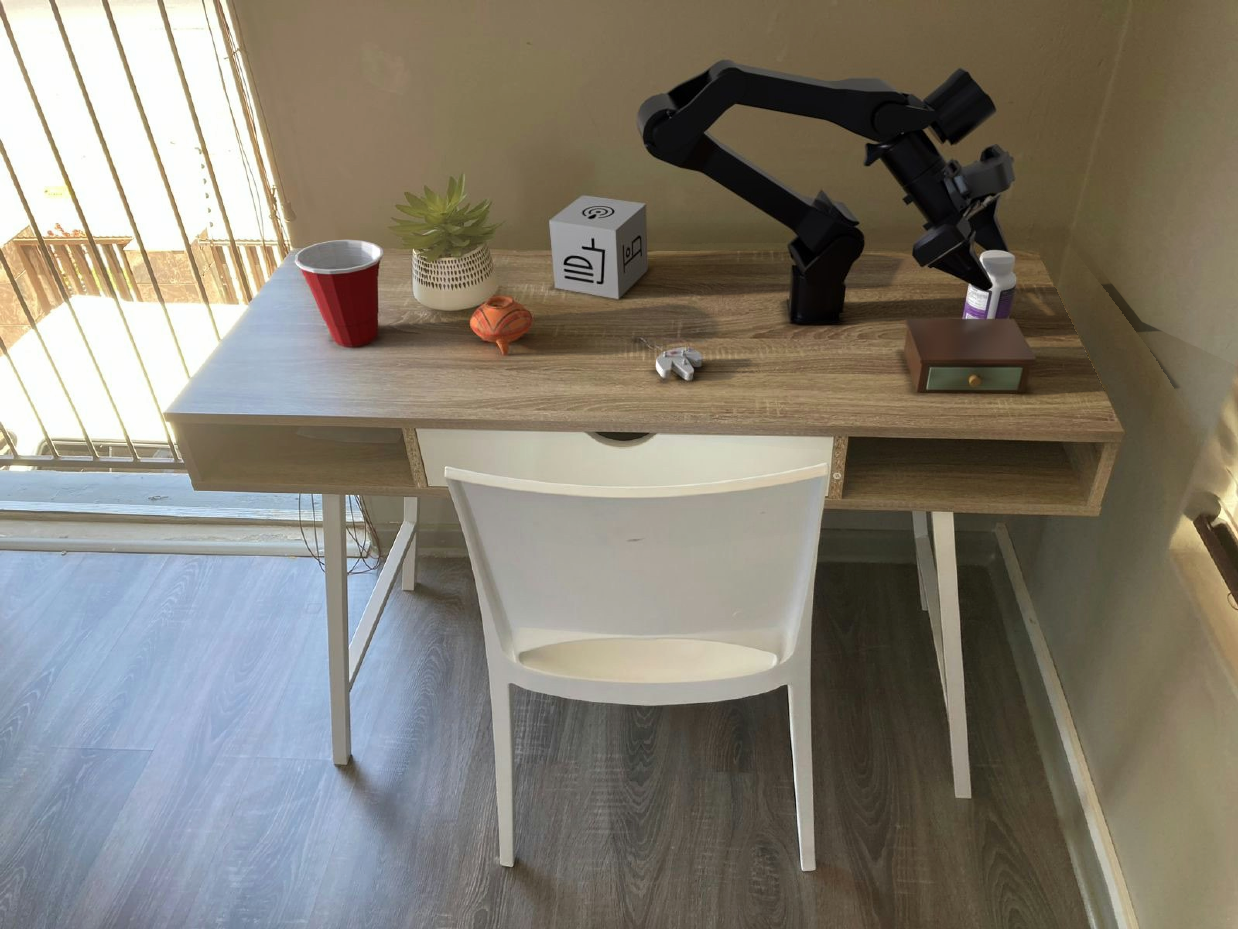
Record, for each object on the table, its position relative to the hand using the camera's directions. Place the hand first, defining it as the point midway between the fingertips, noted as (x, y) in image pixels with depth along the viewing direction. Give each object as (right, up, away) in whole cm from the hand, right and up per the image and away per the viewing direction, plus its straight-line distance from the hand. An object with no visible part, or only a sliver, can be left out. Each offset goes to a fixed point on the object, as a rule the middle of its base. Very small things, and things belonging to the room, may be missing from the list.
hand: (998, 273), depth 115 cm
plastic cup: (-81, -7, +10) cm, 82 cm away
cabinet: (-6, -12, -4) cm, 14 cm away
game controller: (-41, -10, +2) cm, 42 cm away
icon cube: (-49, +3, +21) cm, 53 cm away
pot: (-61, -8, +6) cm, 62 cm away
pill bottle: (0, -6, +5) cm, 8 cm away
